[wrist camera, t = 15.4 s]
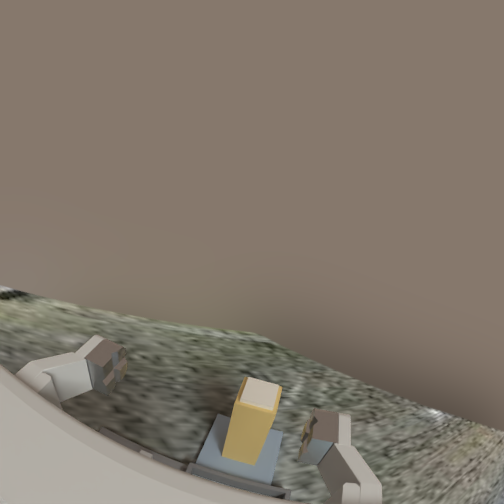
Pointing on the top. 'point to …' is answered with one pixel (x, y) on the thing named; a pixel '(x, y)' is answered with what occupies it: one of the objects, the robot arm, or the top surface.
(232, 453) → the block
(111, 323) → the top surface
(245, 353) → the top surface
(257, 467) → the mat
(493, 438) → the top surface
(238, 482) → the case
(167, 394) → the top surface
